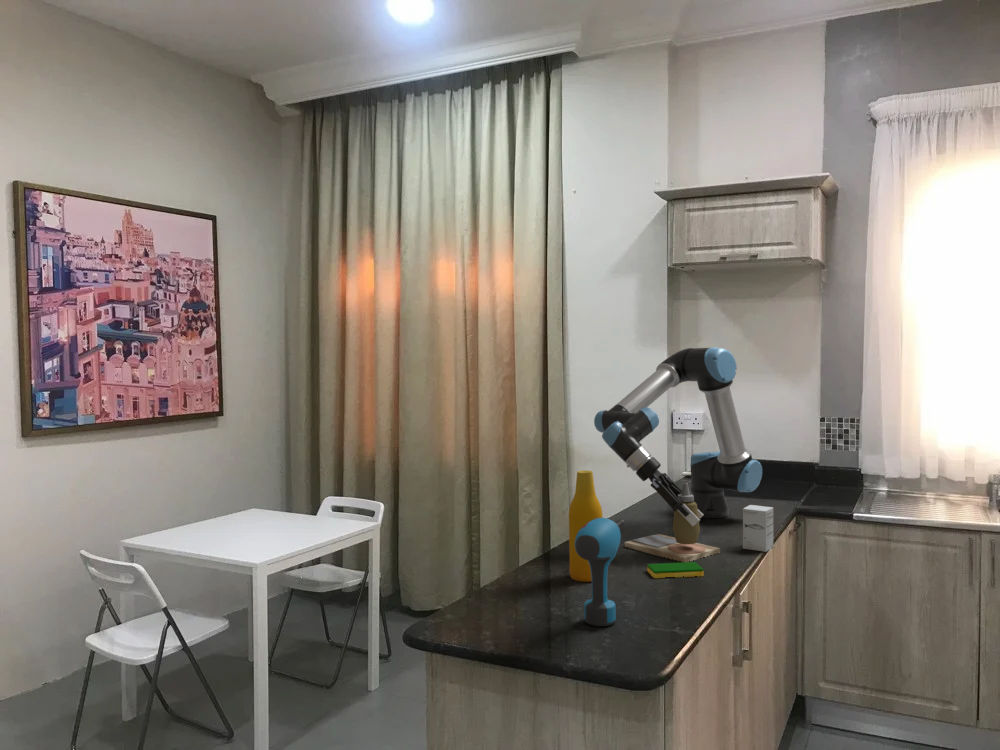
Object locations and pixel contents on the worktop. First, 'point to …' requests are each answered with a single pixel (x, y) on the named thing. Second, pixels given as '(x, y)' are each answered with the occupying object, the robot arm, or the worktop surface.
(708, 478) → the robot arm
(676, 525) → the squeeze bottle
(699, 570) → the dish sponge
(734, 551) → the worktop surface
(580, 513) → the beer bottle
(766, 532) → the supplement box
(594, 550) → the power drill
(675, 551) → the board
